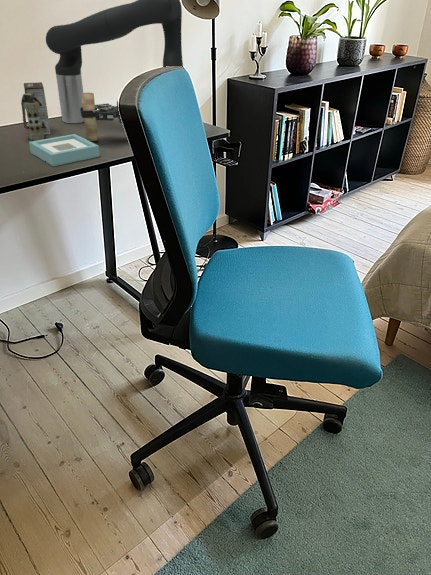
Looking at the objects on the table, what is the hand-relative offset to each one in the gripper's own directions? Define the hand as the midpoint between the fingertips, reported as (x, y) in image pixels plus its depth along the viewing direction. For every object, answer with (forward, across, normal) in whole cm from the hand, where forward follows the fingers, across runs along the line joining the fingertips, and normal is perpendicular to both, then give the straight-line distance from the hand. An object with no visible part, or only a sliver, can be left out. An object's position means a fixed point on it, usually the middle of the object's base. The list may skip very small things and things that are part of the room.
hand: (81, 112), depth 157 cm
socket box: (+7, +12, +10) cm, 17 cm away
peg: (-3, 0, +9) cm, 9 cm away
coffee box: (+15, -16, +10) cm, 24 cm away
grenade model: (+16, -8, +10) cm, 21 cm away
